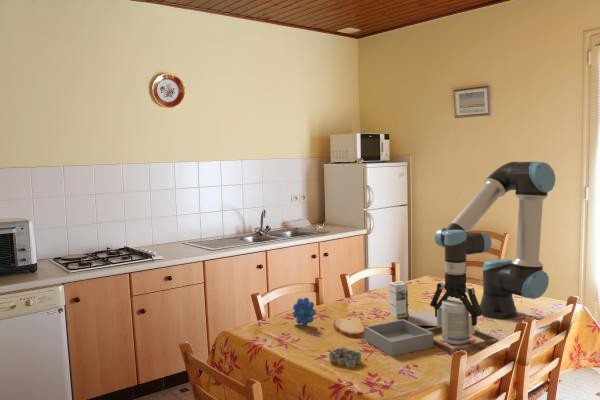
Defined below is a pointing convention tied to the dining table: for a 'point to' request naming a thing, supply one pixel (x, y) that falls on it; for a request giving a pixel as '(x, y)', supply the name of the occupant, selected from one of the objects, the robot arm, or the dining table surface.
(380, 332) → the grey bin
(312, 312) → the grapes
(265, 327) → the dining table surface
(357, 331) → the bread slice
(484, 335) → the rim
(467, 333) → the supplement tub
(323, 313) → the dining table surface
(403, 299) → the syrup box
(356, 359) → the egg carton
